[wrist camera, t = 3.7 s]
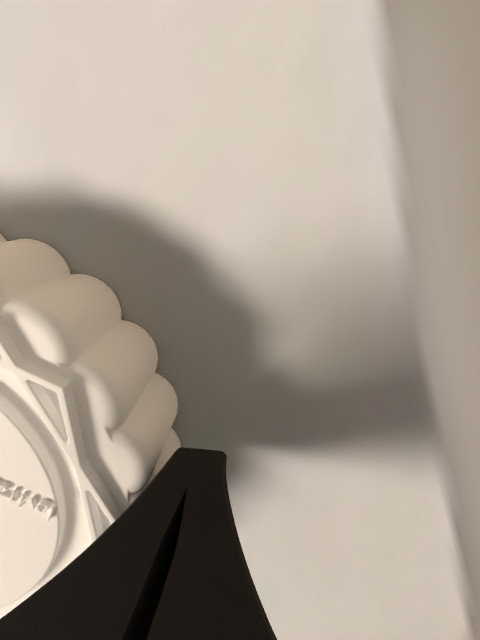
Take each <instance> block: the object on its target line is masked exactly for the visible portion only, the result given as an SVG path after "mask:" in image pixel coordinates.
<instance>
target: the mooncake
mask: <svg viewBox="0 0 480 640" xmlns="http://www.w3.org/2000/svg"><path fill="white" fill-rule="evenodd" d="M121 317H122V314H121V307H120V304H119V301H118V299H117V297H116V295H115V294H114V292H113V291H112V290H111V289H110V287H109V286H108V285H106V284H105V283H104V282H102V281H101V280H99V279H97V278H95V277H92V276H89V275H84V274H71V272H70V269H69V267H68V265H67V263H66V261H65V260H64V258H63V257H62V256H61V255H60V254H59V253H58V252H57V251H56V250H55V249H54V248H52V247H51V246H49V245H47V244H46V243H43V242H41V241H38V240H33V239H17V240H12V241H7V240H6V239H5V238H4V237H3V235H2V234H0V619H1V618H2V617H3V616H5V615H6V614H7V613H9V612H10V611H11V610H13V609H14V608H15V607H17V606H18V605H19V604H21V603H22V602H23V601H25V600H26V599H27V598H28V597H30V596H31V595H32V594H33V593H35V592H36V591H37V590H38V589H39V588H41V587H42V586H43V585H44V584H46V583H47V582H48V581H49V580H51V579H52V578H53V577H54V576H56V575H57V574H58V573H59V572H60V571H62V570H63V569H64V568H65V567H66V566H67V565H69V564H70V563H71V562H72V561H73V560H74V559H75V558H77V557H78V556H79V555H80V554H81V553H82V552H83V551H84V550H85V549H87V548H88V547H89V546H90V545H91V544H92V543H93V542H94V541H95V540H96V539H97V538H98V537H99V536H100V535H101V534H102V533H103V532H104V531H105V530H106V529H107V528H108V527H109V526H110V525H111V524H112V523H113V522H114V521H115V520H116V519H117V518H118V517H119V516H120V515H121V514H122V513H123V512H124V511H125V510H126V509H127V508H128V507H129V506H130V505H131V504H132V502H133V501H134V500H135V499H136V498H137V497H138V496H139V495H140V493H141V492H142V491H143V490H144V489H145V488H146V487H147V486H148V485H149V483H150V482H151V481H152V480H153V479H154V477H155V476H156V475H157V474H158V473H159V471H160V470H161V469H162V468H163V466H164V465H165V464H166V462H167V461H168V460H169V459H170V457H171V456H172V455H173V453H174V452H175V451H176V450H177V449H178V448H180V447H181V445H180V441H179V438H178V436H177V434H176V433H175V431H174V430H173V429H172V428H171V427H172V425H173V422H174V420H175V417H176V414H177V411H178V400H177V396H176V393H175V390H174V389H173V387H172V385H171V384H170V383H169V382H168V381H167V380H166V379H165V378H164V377H162V376H161V375H159V374H158V373H155V371H156V368H157V364H158V353H157V348H156V345H155V343H154V341H153V339H152V338H151V336H150V335H149V334H148V333H147V332H146V331H145V330H144V329H143V328H141V327H140V326H138V325H136V324H134V323H132V322H129V321H126V320H122V318H121Z"/></svg>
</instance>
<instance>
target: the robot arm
mask: <svg viewBox="0 0 480 640" xmlns="http://www.w3.org/2000/svg"><path fill="white" fill-rule="evenodd" d="M226 460H227V455H226V454H225V453H224V452H223V451H215V450H203V449H192V448H181V447H180V448H178V449H177V450H176V451H175V452H174V453H173V455H172V456H171V457H170V459H169V460H168V461H167V462H166V464H165V465H164V466H163V468H162V469H161V470H160V471H159V473H158V474H157V475H156V476H155V477H154V479H153V480H152V481H151V482H150V483H149V485H148V486H147V487H146V488H145V489H144V490H143V491H142V492H141V493H140V495H139V496H138V497H137V498H136V499H135V500H134V501H133V502H132V504H131V505H130V506H129V507H128V508H127V509H126V510H125V511H124V512H123V513H122V514H121V515H120V516H119V517H118V518H117V519H116V520H115V521H114V522H113V523H112V524H111V525H110V526H109V527H108V528H107V529H106V530H105V531H104V532H103V533H102V534H101V535H100V536H99V537H98V538H97V539H96V540H95V541H94V542H93V543H92V544H91V545H90V546H89V547H88V548H87V549H85V550H84V551H83V552H82V553H81V554H80V555H79V556H78V557H77V558H75V559H74V560H73V561H72V562H71V563H70V564H69V565H67V566H66V567H65V568H64V569H63V570H62V571H60V572H59V573H58V574H57V575H56V576H54V577H53V578H52V579H51V580H49V581H48V582H47V583H46V584H44V585H43V586H42V587H41V588H39V589H38V590H37V591H36V592H35V593H33V594H32V595H31V596H30V597H28V598H27V599H26V600H25V601H23V602H22V603H21V604H19V605H18V606H17V607H15V608H14V609H13V610H11V611H10V612H9V613H7V614H6V615H5V616H3V617H2V618H1V619H0V640H277V638H276V636H275V634H274V632H273V630H272V628H271V625H270V623H269V621H268V618H267V616H266V613H265V611H264V608H263V606H262V604H261V601H260V599H259V596H258V594H257V591H256V588H255V586H254V583H253V580H252V578H251V575H250V572H249V569H248V566H247V563H246V560H245V557H244V554H243V551H242V547H241V544H240V541H239V537H238V534H237V530H236V526H235V522H234V518H233V514H232V509H231V505H230V500H229V495H228V488H227V481H226Z"/></svg>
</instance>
